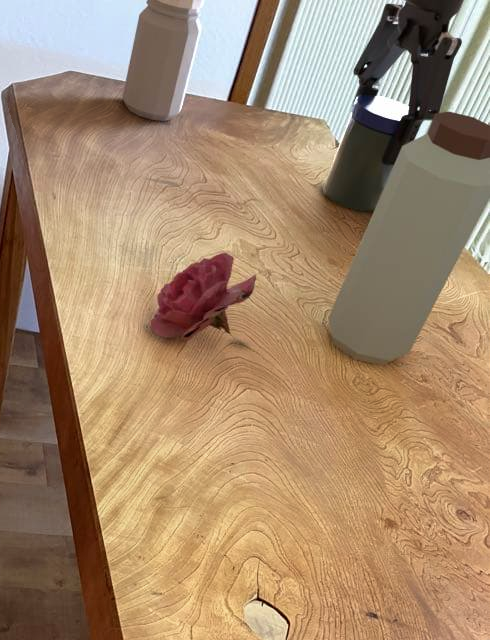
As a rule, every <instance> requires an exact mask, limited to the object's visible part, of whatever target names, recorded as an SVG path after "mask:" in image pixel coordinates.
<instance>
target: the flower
mask: <svg viewBox="0 0 490 640" xmlns="http://www.w3.org/2000/svg"><path fill="white" fill-rule="evenodd" d="M234 260H235V257H234V256H233V255H232V254H229V253H228V252H221V253H218V254H216V255H214V256H212V257H211V258H205V257H203V258H202V259H200V261H196V262H194V263H191V264H190V265H188V266H187V268H185V269H182V271H181V272H180V271H179V272H178V273H176V274H175V275H174V277H173V278H172V281H170V282H169V283H165V284H164V285H163V287H162V288H160V291H159V293H157V296H156V299H157V305H158V309H157V312H154V314H153V315H154V316H153V318H151V320H150V328H151V332H152V333H153V334H155V335H156V336H158V337H161V338H165V339H171V340H172V339H176V338H178V337H180V336H181V339H180V341H181V342H183V343H187V342H189V341H190V340H191V339H192V338H194V337H195V336H197V335H198V334H199V333H201V332H202V331H203V330H205V329H206V328H208V327H212V328H215V329H217V330H219V331H221V330H222V329H223V330H224V332H225V333H227V334H229V335H230V336H231V337H232V338H233V339H234V340H235V341H237V343H238V344H240V345H241V346H242V345H243V343H242V342H241V341H240V340H238V339H237V338H236V337H234V336H233V335H232V333H231V331H230V326H229V323H228V316H227V312H226V310H228V308H229V306H233V305H236V304H241V303H242V302H245V301H247V300H248V299H250V297H251V296H252V294H253V292H254V290H255V284H256V281H257V274H253V275H252V276H251V277H249V278H248V279H245V280H244V281H241V282H239V283H236V284H233V285H231V286H229V287H228V284H229V282H230V279H231V276H232V271H233V265H234Z"/></svg>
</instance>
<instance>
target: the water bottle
mask: <svg viewBox="0 0 490 640" xmlns="http://www.w3.org/2000/svg"><path fill="white" fill-rule="evenodd" d="M489 200H490V124H488V123H486V122H484V121H481V120H480V119H478V118H476V117H474V116H469V115H466V114H461V113H457V112H453V111H444V112H443V111H442V112H439V113H436V114H435V115H434V118H433V120H432V121H431V123H430V125H429V127H428V131H427V133H425V134H423V135H421V136H420V137H418V138H415V140H413V141H411V142H409V143H408V144H406V145H404V146H402V148H401V150H400V153H399V155H398V157H397V159H396V162H395V164H394V166H393V169H392V171H391V173H390V176H389V178H388V180H387V183H386V185H385V187H384V190H383V192H382V194H381V197H380V199H379V201H378V204H377V206H376V208H375V210H374V211H373V213H372V215H371V218H370V220H369V222H368V225H367V226H366V229H365V232H364V234H363V236H362V237H361V241H360V243H359V245H358V248H357V250H356V252H355V255H354V257H353V259H352V261H351V264H350V266H349V269H348V271H347V274H346V276H345V278H344V280H343V282H342V285H341V287H340V289H339V291H338V293H337V296H336V299H335V301H334V303H333V305H332V308H331V311H330V312H329V315H328V317H327V320H328V324H329V325H328V326H329V330H330V334H331V335H330V336H331V339H332V344H333V346H335V347H336V348H338V349H339V350H340V351H342V352H343V353H345V354H346V355H347V356H349V357H350V358H352V359H353V360H355V361H360V362H364V363H367V364H368V363H369V364H374V365H378V366H384V365H387V364H390V363H391V362H394V361H396V360H398V359H400V358H402V357H404V356H406V355H407V354H409V353H410V352H411V351H412V349H413V346H414V345H415V342H416V341H417V339H418V337H419V335H420V333H421V331H422V330H423V327H424V325H425V324H426V322H427V320H428V318H429V316H430V315H431V312H432V310H433V308H434V307H435V304H436V302H437V300H438V298H439V297H440V294H441V293H442V291H443V290H444V287H445V285H446V283H447V280H449V277H450V275H451V274H452V271H453V270H454V268H455V266H456V265H457V262H458V260H459V258H460V256H461V254H462V252H463V250H464V249H465V247H466V244H467V243H468V241H469V239H470V237H471V235H472V233H473V231H474V229H475V228H476V225H477V224H478V222H479V220H480V219H481V216H482V214H483V212H484V211H485V208H486V206H487V204H488V202H489Z"/></svg>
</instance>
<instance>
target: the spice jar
mask: <svg viewBox="0 0 490 640" xmlns="http://www.w3.org/2000/svg"><path fill="white" fill-rule="evenodd" d="M350 115H351V116H350ZM350 115H349V117H350V119H349V118H348V120H349V121H348V120H347V123H348V124H347V123H346V125H347V127H346V126H345V128H346V129H345V128H344V130H345V132H344V131H343V135H342V137H341V140H340V142H339V145H338V147H337V151H336V152H335V155H334V158H333V161H332V163H331V166H330V168H329V170H328V174H327V176H326V179H325V182H324V184H323V186H322V192H323V194H324V195H325V196H326V198H328V199H329V200H331V201H332V202H334V203H336V204H337V205H340V206H341V207H345V208H347V209H351V210H354V211H359V212H374V210H375V208H376V206H377V204H378V201H379V199H380V197H381V194H382V192H383V190H384V187H385V185H386V183H387V180H388V178H389V176H390V173H391V171H392V169H393V166H394V165H385V164H383V160H384V158H385V156H386V153H387V151H388V148H389V146H390V144H391V141H392V139H393V137H394V135H393V134H388V133H384V132H380V131H377V130H374V129H372V128H370V127H367V126H365V125H364V124H362V123H360V122H359V121H357V120H356V119H355V118H354V117H353V116H352V113H351V112H350Z"/></svg>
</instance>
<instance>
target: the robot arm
mask: <svg viewBox="0 0 490 640" xmlns="http://www.w3.org/2000/svg"><path fill="white" fill-rule="evenodd" d="M404 1H405V2H404V4H398V3H397V4H396V3H385V5H384V7H383V11H382V13H381V17H380V20H379V23H378V24H377V26H376V28H375V30H374V31H373V33H372V35H371V37H370V39H369V41H368V43H367V44H366V46H365V48H364V50H363V51H362V53H361V55H360V57H359V59H358V61H357V63H356V64H355V66H354V68H353V71H352V72H353V73H352V74H353V76H357V78H358V87H357V90H356V92H355V95H354V98H353V101H352V107H353V105H354V102H355V101H356V98H357V97H358V96H361V95H375V96H378V93H379V91H380V90H379V89H378V88H377V87H379V86H380V85H381V84H380V81H381V79H382V78H383V77H384V76H385V75H386V74H387V72H389V70H390V69H391V67H393V66H394V64H395V63H396V62H397V60H398V59H399V58H400V57H401V56H402V55H403V53H404V52H406V51H407V52H408V53H409V54H410V63H411V64H412V68H411V69H412V71H411V80H410V88H409V89H410V91H409V98H408V99H409V100H408V107H409V109H408V114H407V115H404V116H402V118H401V120H400V122H399V125H398V127H397V129H396V132H395V134H394V137H393V139H392V141H391V144H390V146H389V148H388V151H387V153H386V156H385V158H384V160H383V164H385V165H394V164H395V162H396V159H397V157H398V155H399V153H400V150H401V148H402V146H404V145H406V144H408V143H409V142H411V141H413V140H415V139H416V137H417V136H418V135H417V134H418V133H419V131H420V128H421V126H422V124H423V122H426V121H428V122H432V120H433V118H434V115H435V114H436V113H440V111H441V108H442V104H443V100H444V97H445V94H446V89H447V86H448V83H449V78H450V75H451V72H452V67H453V64H454V60H455V58H456V56H457V54H458V53H459V50H460V48H461V46H462V44H463V40H462V38H460V37H454V36H453V35H452V34H450V33H449V28H450V27H449V26H450V22H451V19H452V18H453V17H454V16H456V15H458V13H459V12H460V10H461V8H462V6H463V3H464V1H465V0H404ZM418 108H419V109H418ZM350 116H351V114H350V115H349V118H348V120H347V122H346V126H345V128H344V131H343V133H344V132H345V129H346V127H347V124H348V121H349V119H350Z"/></svg>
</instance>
